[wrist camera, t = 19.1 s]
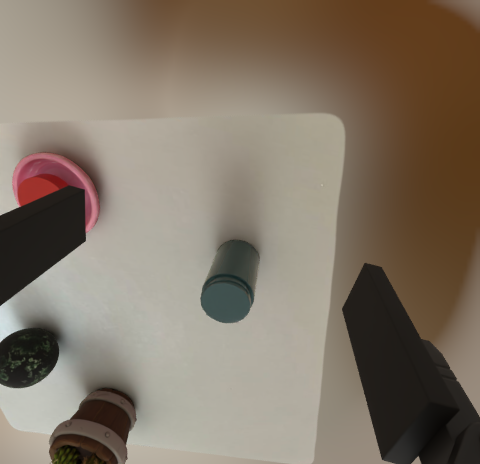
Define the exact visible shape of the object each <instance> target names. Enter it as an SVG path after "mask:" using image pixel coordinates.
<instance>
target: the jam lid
mask: <svg viewBox="0 0 480 464" xmlns="http://www.w3.org/2000/svg"><path fill="white" fill-rule="evenodd" d="M66 186H68V184H67V183H66V182H65V181H64V180H62V179H61V178H59V177H57V176H55V175H52V174H39V175H36V176H33V177H30V178H27V179H25V180H24V181H23V182H22V183H21V184H20V186H19V188H18V201H19V204H20V206H23V205H25V204H28V203H30V202H32V201H34V200H37V199H39V198H41V197H43V196H46V195H48V194H50V193H53V192H55V191H57V190H59V189H62V188H64V187H66Z"/></svg>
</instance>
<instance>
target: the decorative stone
mask: <svg viewBox="0 0 480 464" xmlns="http://www.w3.org/2000/svg"><path fill="white" fill-rule="evenodd" d="M58 357H59V346H58V343H57V341H56V339H55V338H54V336H53V335H52V334H51V333H49V332H48V331H45V330H43V329H38V328H28V329H23V330H20V331H17V332H14V333H13V334H11V335H9V336H7V337H6V338H5V339H3V340H2V341H1V342H0V384H2V385H4V386H7V387H10V388H25V387H29V386H32V385H34V384H36V383H38V382H40V381H41V380H43V379H44V378H45V377H46V376H48V375H49V373H50V372H51V371H52V370H53V368H54V367H55V365H56V363H57V360H58Z"/></svg>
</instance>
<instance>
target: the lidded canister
mask: <svg viewBox="0 0 480 464" xmlns="http://www.w3.org/2000/svg"><path fill="white" fill-rule="evenodd" d="M258 268H259V255H258V252H257V251H256V249H255V248H254V247H253V246H252V245H251V244H249V243H247V242H245V241H241V240H231V241H228V242H225V243H224V244H223V245H221V246H220V248H219V249H218V251H217V253H216V256H215V258H214V261H213V263H212V266H211V268H210V270H209V273H208V275H207V278H206V280H205V283H204V285H203V288H202V294H201V305H202V308H203V310H204V311H205V313H206V314H207V315H208V316H209V317H211V318H212V319H214V320H216V321H219V322H222V323H235V322H238V321H241V320H242V319H244V318H245V317H246V316H247V315H248V313H249V311H250V308H251V306H252V304H253V302H254V296H255V289H256V282H257V275H258Z"/></svg>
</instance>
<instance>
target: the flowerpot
mask: <svg viewBox="0 0 480 464" xmlns="http://www.w3.org/2000/svg"><path fill="white" fill-rule="evenodd" d="M136 420H137V419H136V412H135V410H134V405H133V403H132V401H131V399H130V398H129V397H128V396H126V395H125V394H123V393H121V392H119V391H116V390H114V391H113V389H108V388H103V389H102V390H100V389H99V390H97V391H95V392H93V393H91V394H89V395H88V396H87V397H86V398H85V399H84V400H83V401H82V402H81V404H80V406H79V410H78V411H77V412H76V413H75V414H74V415H73V416H72V418H71V419H70V420H67V421H64V422H62V423H61V424H59V425H58V426H57V427H56V429H55V430H54V432H53V433H52V435H51V437H50V440H49V444H50V450H49V453H50V457H51V459H52V463H53V464H125V462H126V460H127V448H126V442H127V438H128V434H129V431H131V430H132V428H133V427H134V424H135V422H136Z"/></svg>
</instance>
